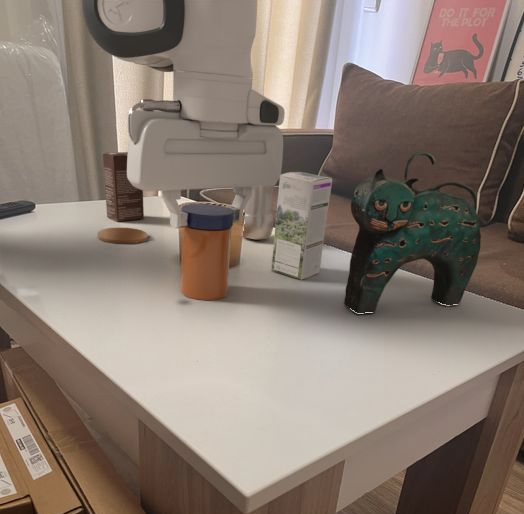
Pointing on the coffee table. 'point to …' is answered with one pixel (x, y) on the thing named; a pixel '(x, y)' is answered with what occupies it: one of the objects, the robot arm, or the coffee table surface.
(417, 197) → the ceramic cat
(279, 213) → the syrup box
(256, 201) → the metal water bottle
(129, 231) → the coaster
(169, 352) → the coffee table surface
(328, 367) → the coffee table surface
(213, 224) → the jar lid
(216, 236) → the jar
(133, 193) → the box
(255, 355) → the coffee table surface
